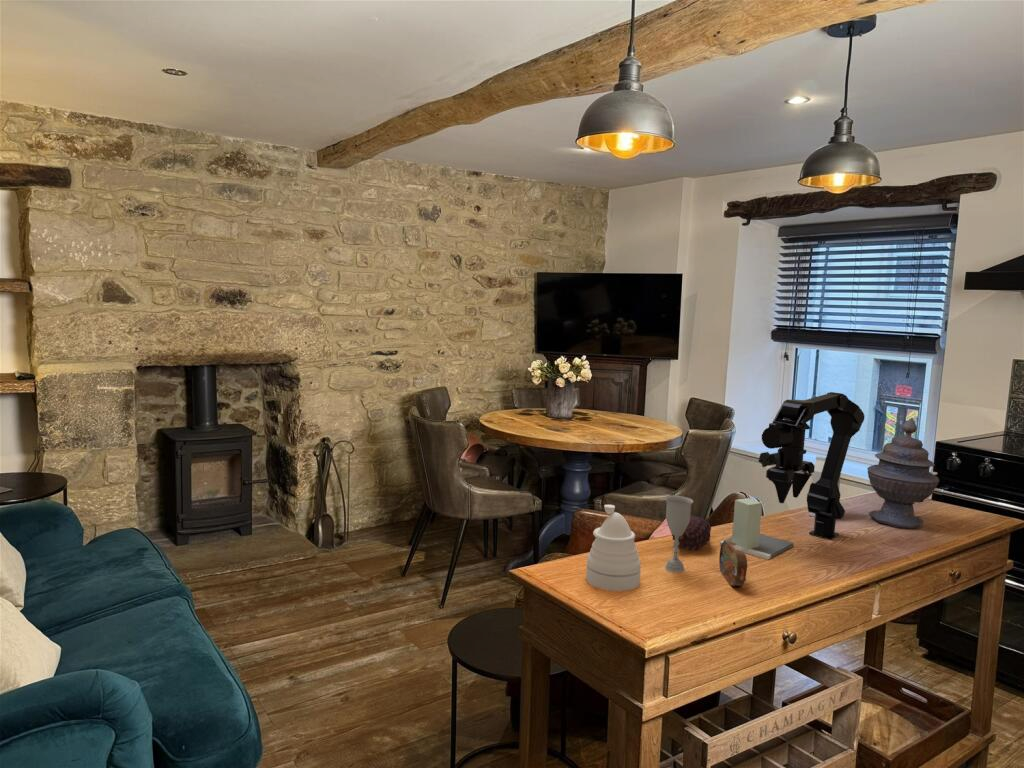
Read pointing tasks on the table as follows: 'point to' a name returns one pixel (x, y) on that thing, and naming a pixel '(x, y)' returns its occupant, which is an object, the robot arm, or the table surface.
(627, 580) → the honey pot
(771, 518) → the table surface
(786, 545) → the mat
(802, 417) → the robot arm
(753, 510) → the sage block
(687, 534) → the pine cone
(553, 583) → the table surface
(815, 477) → the milk carton
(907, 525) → the decorative urn
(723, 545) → the tin
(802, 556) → the table surface
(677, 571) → the chalice
